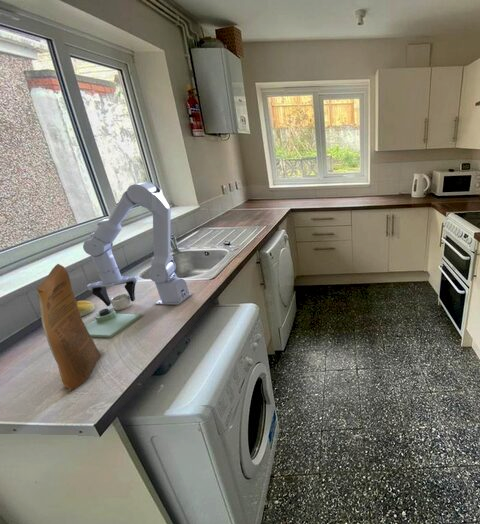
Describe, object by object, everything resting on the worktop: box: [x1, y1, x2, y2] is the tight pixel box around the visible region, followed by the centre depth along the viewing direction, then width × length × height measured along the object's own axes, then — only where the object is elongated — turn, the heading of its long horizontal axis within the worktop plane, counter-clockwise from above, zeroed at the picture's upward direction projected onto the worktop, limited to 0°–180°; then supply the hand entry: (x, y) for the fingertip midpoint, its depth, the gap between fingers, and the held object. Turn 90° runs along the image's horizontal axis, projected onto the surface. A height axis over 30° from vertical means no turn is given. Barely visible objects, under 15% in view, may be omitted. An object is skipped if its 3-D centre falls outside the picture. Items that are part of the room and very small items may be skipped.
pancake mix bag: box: [35, 263, 102, 392], centre depth 72 cm, size 7×19×28 cm, turn 25°
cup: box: [109, 293, 133, 311], centre depth 108 cm, size 6×6×4 cm
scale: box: [84, 308, 142, 338], centre depth 96 cm, size 14×12×2 cm
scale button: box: [98, 308, 110, 316], centre depth 99 cm, size 3×3×2 cm
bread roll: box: [76, 300, 95, 318], centre depth 105 cm, size 8×9×4 cm
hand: (121, 302), depth 108 cm, fingers open, 7 cm apart
